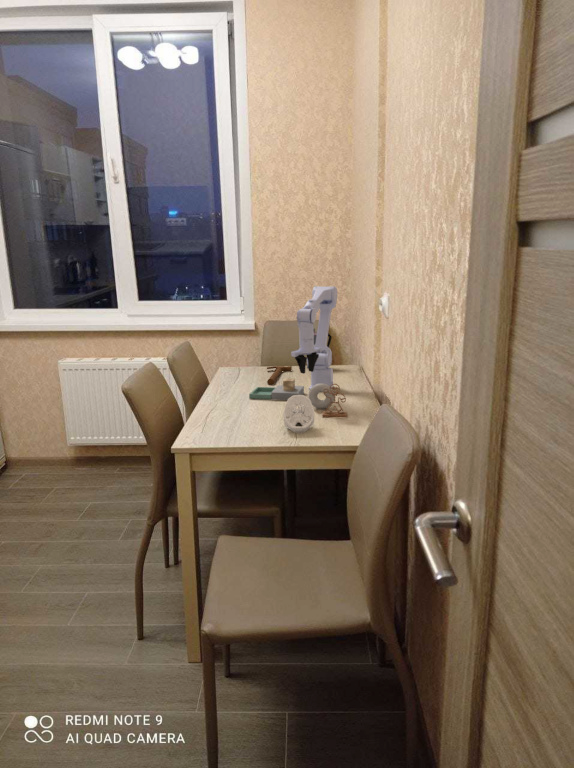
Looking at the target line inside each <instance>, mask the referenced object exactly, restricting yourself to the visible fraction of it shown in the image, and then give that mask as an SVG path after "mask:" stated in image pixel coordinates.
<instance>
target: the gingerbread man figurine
mask: <svg viewBox="0 0 574 768" xmlns="http://www.w3.org/2000/svg"><path fill="white" fill-rule="evenodd" d="M332 385H333V387H332V388H331V386H332ZM332 385H331V386H330V389H333V390H332V391H333V392H334V394H333V392H332V391H331V390H330V392H331V393H330V392H329V390H328V389H324V390H328V391H327V392H326V391H325V392H324V391H323V392H322V393H323V395H324V397H325V398H326V397H327V396H326V395H325V393H329V394H332V396H334V402H331V397H327V398H330V405H331V403H333V404H332V405H334V404H337V405H338V406H339V408H340V409H339V410H338V408H337V407H336V405H334V406H333V407H332V409H329V408H330V407H331V406H332V405H331V406H330V405H329V406H330V407H329V406H328V408H326V410H325V411H323V412H322V414H321V417H322V416H323V417H322V418H329V417H347V418H348V412H346V411H344V410H343V408H342V406H341V404H340V402H341V403H346V400H347V397H346V396H345V395H344V393H342V392H340V390H341V389H340V385H339V384H337V383H333V384H332ZM334 385H335V386H336V387H334ZM338 395H341V396H343V398H341V397H339V396H338ZM337 396H338V397H337ZM336 397H337V401H336ZM334 409H335V410H336V411H333V410H334Z"/></svg>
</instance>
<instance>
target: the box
mask: <svg viewBox="0 0 574 768" xmlns="http://www.w3.org/2000/svg"><path fill="white" fill-rule="evenodd" d="M276 387H277V386H276ZM276 387H274V386H273V387H271V386H256V387H255V388H254V389H253V390H252V391H251V392H250V393H249V394H248V395H249V396H248V399H249V400H266V401H267V400H270V401H271V400H272V397H271V392H272V391H273V390H274V389H275V388H276Z"/></svg>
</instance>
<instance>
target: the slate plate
mask: <svg viewBox="0 0 574 768" xmlns="http://www.w3.org/2000/svg"><path fill="white" fill-rule="evenodd" d="M304 393H305V387H304V385H295V389H294V390H293V391H287V390H283V384H282V385H280V384H279V385H277V386H276V388H275V389H274V390H273V391H272V392H271V397H272V399H271V400H272V401H287V400H288V399H289V398H290V397H291V396H293V395H304Z"/></svg>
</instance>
